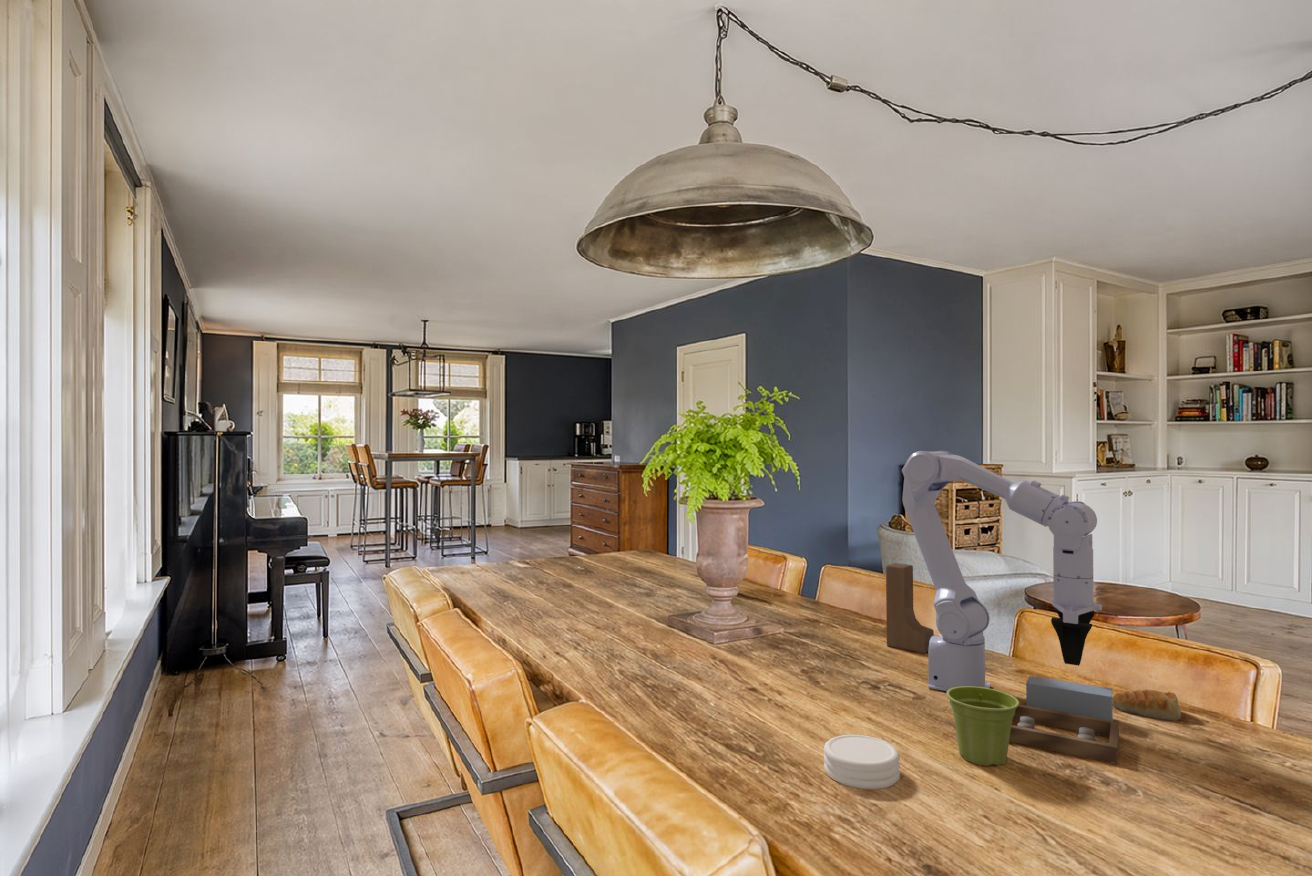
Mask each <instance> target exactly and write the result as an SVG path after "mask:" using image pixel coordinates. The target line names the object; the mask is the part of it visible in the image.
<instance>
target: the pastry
mask: <svg viewBox="0 0 1312 876" xmlns="http://www.w3.org/2000/svg"><path fill="white" fill-rule="evenodd" d="M1112 704H1113V707H1116V708H1117V709H1118V710H1121V712H1125V713H1129V714H1135V715H1139V716H1141V717H1149V718H1155V719H1161V720H1169V721H1180V719H1181V718H1182V711H1181V707H1180V705H1179V701H1178V697H1177V695H1176V693H1175V692H1171V691H1168V692H1163V691H1159V690H1153V689H1143V690H1140V689H1138V690H1134V691H1133V690H1132V691H1125V692H1119V693H1118V692H1117V693H1116V694H1114V695H1112Z"/></svg>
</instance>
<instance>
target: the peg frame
mask: <svg viewBox="0 0 1312 876" xmlns="http://www.w3.org/2000/svg"><path fill="white" fill-rule="evenodd" d="M1012 720H1018V721H1019V722H1018V723H1017V725H1014V724H1012V725H1011V731H1010V738H1009V743H1010V742H1011V743H1015V744H1016V743H1017V744H1019V745H1020V744H1021V745H1023V746H1024V745H1025V746H1030V747H1034V748H1038V749H1039V748H1040V749H1044V750H1050V751H1053V752H1058V753H1064V754H1068V755H1073V756H1077V757H1084V758H1086V759H1087V758H1088V759H1091V760H1098V761H1102V762H1107V763H1112V764H1117V765H1118V764H1119V763H1118V762H1119V760H1118V759H1119V745H1120V744H1119V743H1120V725H1119V724H1120V722H1119V721H1114V720H1113V721H1109V720H1104V719H1098V718H1093V717H1087V716H1081V715H1076V714H1070V713H1065V712H1059V711H1054V710H1048V709H1042V708H1037V707H1031V706H1027V704H1026V705H1025V704H1020V703H1019V706H1018V707H1017V708H1016V709H1015V715H1014V716H1013V719H1012ZM1035 724H1040V725H1044V726H1049V727H1054V728H1061V729H1065V730H1070V731H1076V732H1078V734H1077V737H1076V736H1070V735H1067V734H1066V735H1065V734H1060V733H1056V732H1055V733H1054V732H1051V731H1046V730H1045V731H1044V730H1040V729H1035V727H1036V725H1035ZM1096 735H1097V736H1102V737H1107V738H1109V739H1108V743H1106V742H1101V741H1096V740H1095V739H1096V737H1095V736H1096Z"/></svg>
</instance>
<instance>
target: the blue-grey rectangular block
mask: <svg viewBox="0 0 1312 876" xmlns="http://www.w3.org/2000/svg"><path fill="white" fill-rule="evenodd" d="M1025 687H1026V691H1025V695H1026V697H1025V699H1026V706H1031V707H1037V708H1042V709H1048V710H1054V711H1059V712H1065V713H1070V714H1076V715H1081V716H1087V717H1093V718H1098V719H1104V720H1109V721H1114V720H1113V717H1114V713H1113V709H1114V708H1113V707H1114V705H1113V704H1112V698H1113V688H1111V687H1103V686H1098V685H1097V686H1096V685H1091V684H1087V683H1086V684H1085V683H1078V682H1072V681H1066V680H1059V679H1053V678H1046V677H1039V676H1034V675H1028V679H1027V680H1026V682H1025Z"/></svg>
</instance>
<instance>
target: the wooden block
mask: <svg viewBox="0 0 1312 876" xmlns="http://www.w3.org/2000/svg"><path fill="white" fill-rule="evenodd" d="M885 593H886V594H885V604H886V605H885V607H886V609H885V610H886V611H885V612H886V613H885V614H886V615H885V616H886V621H885V622H886V623H885V624H886V646H888V647H890V646H891V647H890V648H895V649H900V650H906V651H911V652H914V651H915V652H916V653H919V652H920V654H924V653H925V654H928V653H927V652H928V650H929V642H930V639H931V637H932V636H935V634H934V629H932V628H930V627H927V626H926V625H925V626H924V625H922V624H921V622H920V621H919V620H918V619H917V617H916V615H915V611H914V567H913V565H912V564H905V563H898V562H895V563H891V564H888V565H886V566H885Z"/></svg>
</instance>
